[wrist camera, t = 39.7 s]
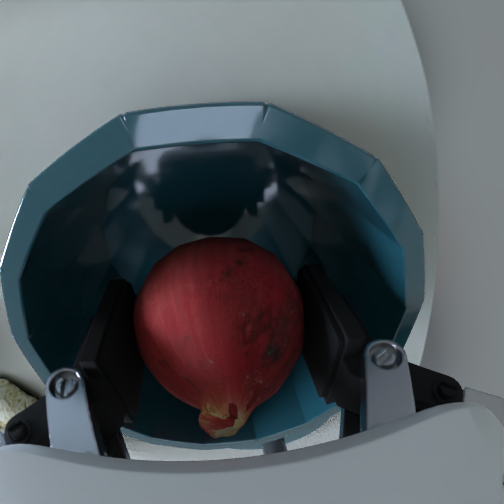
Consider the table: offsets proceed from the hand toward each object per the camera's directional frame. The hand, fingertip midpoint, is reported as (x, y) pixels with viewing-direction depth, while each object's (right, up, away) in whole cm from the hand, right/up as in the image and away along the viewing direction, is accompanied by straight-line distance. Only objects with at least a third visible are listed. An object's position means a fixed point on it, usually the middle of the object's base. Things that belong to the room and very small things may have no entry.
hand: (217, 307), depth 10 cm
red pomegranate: (0, +1, +3) cm, 3 cm away
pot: (-1, +3, +6) cm, 7 cm away
